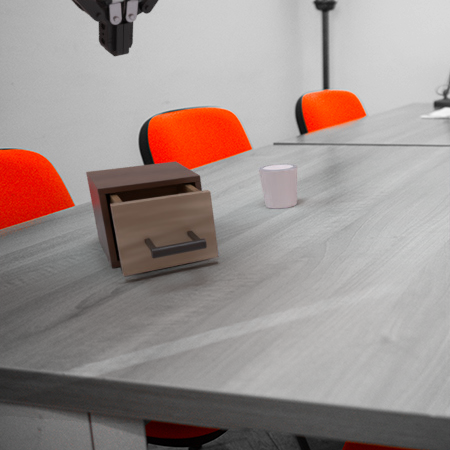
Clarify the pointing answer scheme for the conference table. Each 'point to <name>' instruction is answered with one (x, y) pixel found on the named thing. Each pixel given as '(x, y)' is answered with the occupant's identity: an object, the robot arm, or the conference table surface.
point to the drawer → (162, 227)
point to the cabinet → (129, 181)
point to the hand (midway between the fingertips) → (115, 51)
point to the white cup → (279, 185)
